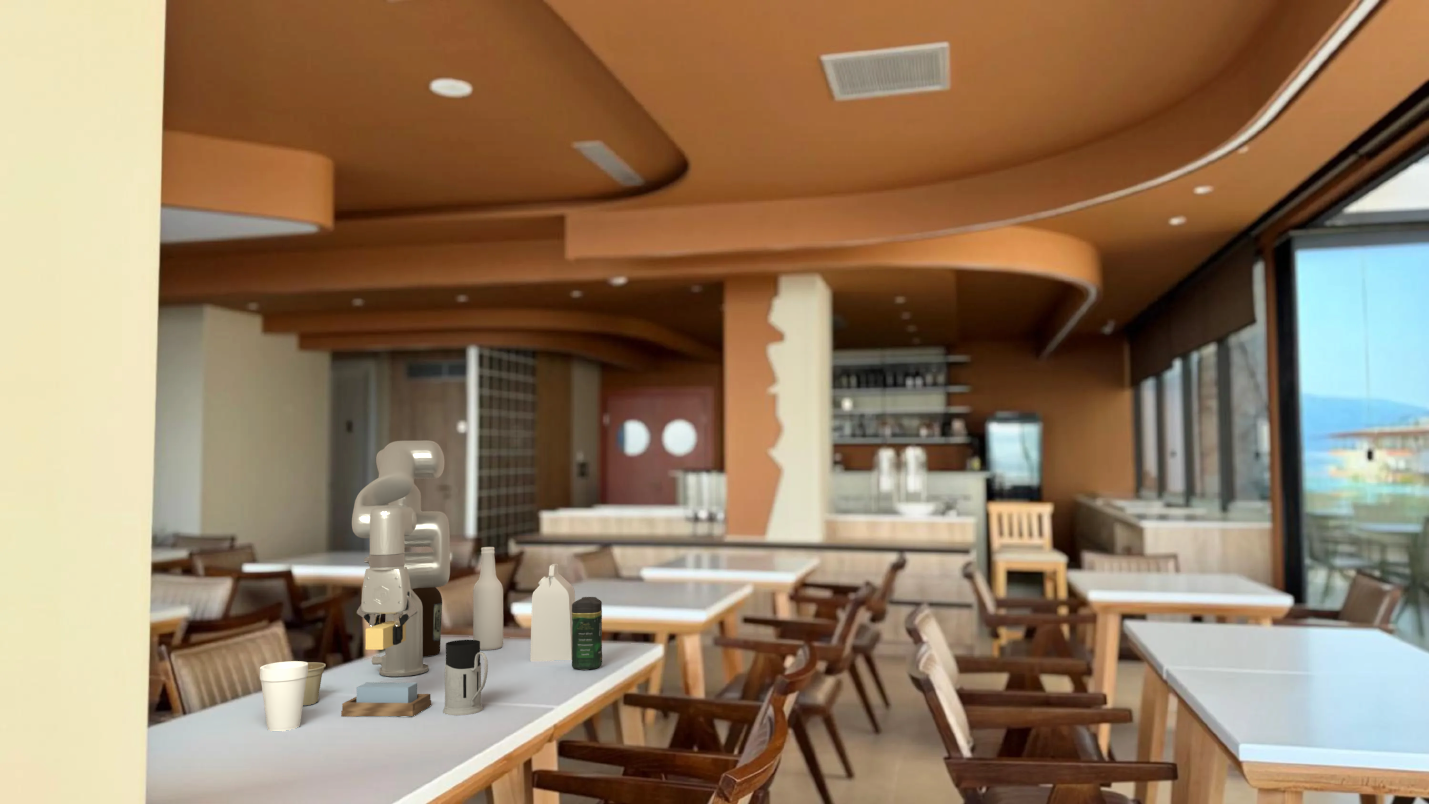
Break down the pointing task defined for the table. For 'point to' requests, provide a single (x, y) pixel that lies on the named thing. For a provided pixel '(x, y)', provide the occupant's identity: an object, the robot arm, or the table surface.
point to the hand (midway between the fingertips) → (387, 643)
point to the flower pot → (313, 682)
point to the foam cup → (283, 693)
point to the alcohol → (488, 604)
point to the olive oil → (430, 619)
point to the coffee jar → (587, 633)
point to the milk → (552, 618)
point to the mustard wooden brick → (382, 636)
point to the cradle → (386, 707)
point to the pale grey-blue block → (387, 692)
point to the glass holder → (463, 677)
